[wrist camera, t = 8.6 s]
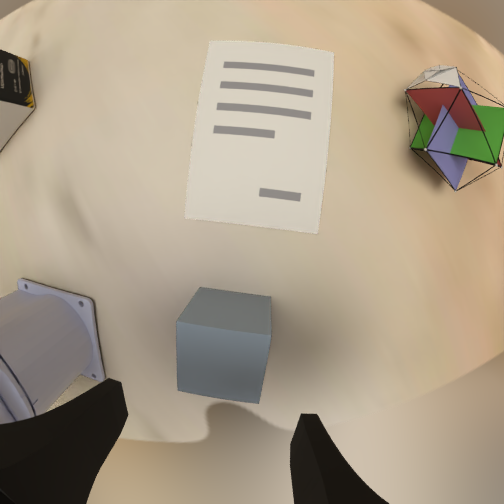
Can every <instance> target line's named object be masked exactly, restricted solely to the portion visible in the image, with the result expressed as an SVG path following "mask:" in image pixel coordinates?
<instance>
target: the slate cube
mask: <svg viewBox="0 0 504 504" xmlns="http://www.w3.org/2000/svg"><path fill="white" fill-rule="evenodd" d="M271 336H272V328H271V297H270V296H261V295H254V294H246V293H239V292H231V291H224V290H217V289H210V288H203V287H200V288H199V289H198V290H197V292H196V293H195V295H194V296H193V298H192V299H191V301H190V302H189V304H188V305H187V306H186V308H185V309H184V311H183V312H182V314H181V315H180V317H179V318H178V320H177V321H176V350H177V386H178V391H182V392H187V393H192V394H197V395H202V396H208V397H213V398H219V399H226V400H233V401H240V402H248V403H257V404H259V401H260V396H261V391H262V385H263V380H264V375H265V370H266V364H267V359H268V353H269V348H270V342H271Z"/></svg>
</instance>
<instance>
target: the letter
mask: <svg viewBox="0 0 504 504" xmlns="http://www.w3.org/2000/svg"><path fill="white" fill-rule="evenodd" d="M333 72H334V52H329V51H324V50H319V49H313V48H307V47H301V46H294V45H286V44H277V43H267V42H253V41H210V43H209V48H208V52H207V57H206V62H205V67H204V73H203V78H202V83H201V89H200V95H199V101H198V107H197V113H196V120H195V126H194V133H193V141H192V148H191V156H190V164H189V173H188V182H187V192H186V203H185V215H184V218H186V219H196V220H205V221H215V222H224V223H232V224H241V225H249V226H258V227H266V228H274V229H282V230H290V231H297V232H305V233H312V234H318V229H319V222H320V215H321V207H322V200H323V192H324V184H325V175H326V166H327V156H328V146H329V135H330V123H331V109H332V93H333Z"/></svg>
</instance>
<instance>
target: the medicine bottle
mask: <svg viewBox="0 0 504 504" xmlns="http://www.w3.org/2000/svg"><path fill="white" fill-rule="evenodd" d="M34 109H35V103H34V98H33V92H32V85H31V78H30V70H29V62H28V60H26V59H23V58H21V57H18V56H16V55H13V54H11V53H8V52H6V51H3V50H0V151H1V149H2V148H3V147H4V145H5V144H6V143H7V141H8V140H9V139H10V137H11V136H12V135H13V134H14V132H15V131H16V130H17V129H18V127H19V126H20V125H21V124H22V122H23V121H24V120H25V119H26V118H27V117H28V116H29V114H30V113H31V112H32V111H33V110H34Z"/></svg>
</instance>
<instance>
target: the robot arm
mask: <svg viewBox="0 0 504 504" xmlns="http://www.w3.org/2000/svg"><path fill="white" fill-rule="evenodd" d="M17 284H18V290H17V291H15V292H13V293H10V294H8V295H6V296H4V297H2V298H0V504H86V503H87V500H88V497H89V494H90V491H91V488H92V486H93V483H94V481H95V478H96V476H97V474H98V472H99V470H100V468H101V466H102V464H103V463H104V461H105V459H106V458H107V456H108V454H109V452H110V451H111V449H112V448H113V446H114V444H115V442H116V441H117V439H118V437H119V436H120V434H121V432H122V429H123V427H124V425H125V422H126V419H127V417H128V411H127V407H126V403H125V398H124V393H123V388H122V383H121V382H119V381H116V380H113V379H110V378H108V379H107V380H105V381H104V379H105V375H104V370H103V365H102V360H101V355H100V349H99V343H98V337H97V330H96V323H95V315H94V306H93V302H92V300H91V299H90V298H88V297H84V296H80V295H76V294H73V293H69V292H65V291H62V290H58V289H55V288H51V287H48V286H45V285H42V284H38V283H35V282H32V281H29V280H26V279H23V278H20V279H18V281H17ZM81 301H82V302H83V304H84V305H83V304H82V302H81ZM80 374H81V375H84V376H86V377H89V378H91V379H94V380H97V381H99V382H101V383H100V384H98V385H96V386H95V387H93V388H92V389H90V390H88V391H87V392H85V393H83V394H81V395H80V396H78V397H76V398H74V399H73V400H71V401H69V402H67V403H65V404H63V405H61V406H59V407H57V408H55V409H53V410H50V411H48V412H46V411H47V410H48V409H49V408H50V407H51V405H52V404H53V403H54V402H55V401H56V400H57V399H58V398H59V397H60V396H61V394H62V393H63V392H64V391H65V390H66V389H67V388H68V387H69V386H70V385H71V384H72V382H73V381H74V380H75V379H76V378H77V377H78V376H79V375H80ZM45 412H46V413H45ZM290 468H291V479H292V488H293V497H294V504H389V503H388V502H386V501H385V500H384V499H382V498H381V497H380V496H379V495H377V494H376V493H375V492H374V491H373V490H372V489H371V488H370V487H369V486H368V485H367V484H366V483H365V482H364V481H363V480H362V479H361V478H360V477H359V476H358V475H357V474H356V472H355V471H354V470H353V469H352V467H351V466H350V465H349V464H348V462H347V461H346V460H345V458H344V457H343V456H342V454H341V453H340V452H339V450H338V448H337V447H336V445H335V444H334V442H333V441H332V439H331V438H330V436H329V434H328V433H327V431H326V429H325V427H324V426H323V424H322V422H321V420H320V418H319V416H318V415H317V414H301V415H300V418H299V421H298V424H297V427H296V430H295V433H294V435H293V438H292V441H291V444H290Z"/></svg>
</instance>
